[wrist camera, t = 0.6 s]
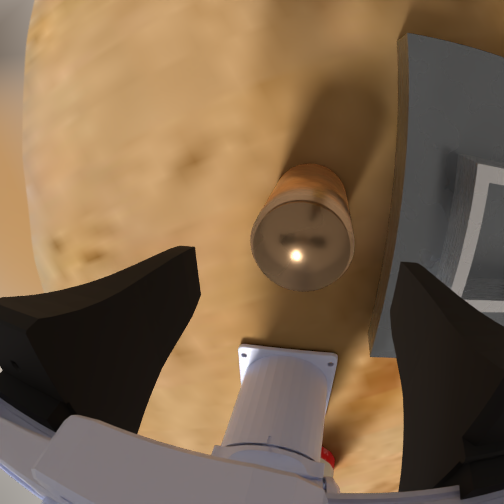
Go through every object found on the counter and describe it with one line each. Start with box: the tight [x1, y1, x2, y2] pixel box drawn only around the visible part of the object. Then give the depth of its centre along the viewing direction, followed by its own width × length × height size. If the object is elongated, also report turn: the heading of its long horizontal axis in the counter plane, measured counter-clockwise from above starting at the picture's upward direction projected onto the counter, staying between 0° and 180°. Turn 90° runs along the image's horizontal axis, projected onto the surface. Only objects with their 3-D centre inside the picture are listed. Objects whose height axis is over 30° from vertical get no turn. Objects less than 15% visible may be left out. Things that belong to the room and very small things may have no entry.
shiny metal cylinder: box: [251, 164, 355, 291], centre depth 16 cm, size 4×4×7 cm
